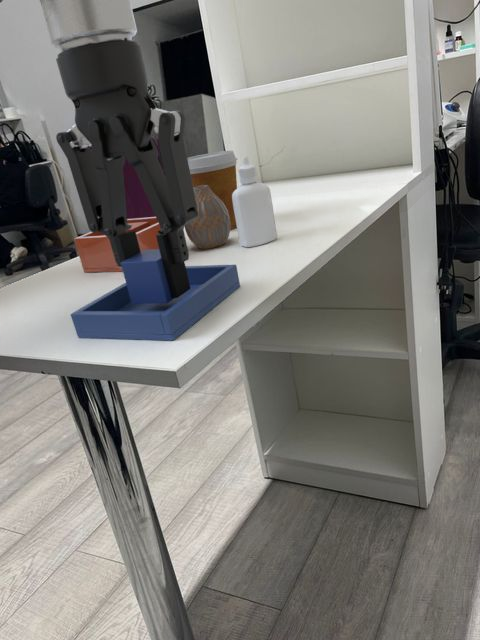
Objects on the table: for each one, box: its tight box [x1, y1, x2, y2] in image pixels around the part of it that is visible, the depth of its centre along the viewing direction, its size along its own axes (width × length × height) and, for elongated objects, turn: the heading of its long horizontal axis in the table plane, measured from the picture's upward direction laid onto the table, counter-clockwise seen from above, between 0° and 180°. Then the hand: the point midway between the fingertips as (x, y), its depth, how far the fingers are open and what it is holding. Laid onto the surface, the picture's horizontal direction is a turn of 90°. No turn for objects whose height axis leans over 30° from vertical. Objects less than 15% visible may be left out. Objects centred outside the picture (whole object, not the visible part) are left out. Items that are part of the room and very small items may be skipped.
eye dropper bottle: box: [232, 156, 278, 248], centre depth 77 cm, size 4×6×12 cm
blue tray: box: [69, 264, 241, 341], centre depth 58 cm, size 12×15×3 cm
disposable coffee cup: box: [187, 150, 238, 230], centre depth 91 cm, size 10×10×12 cm
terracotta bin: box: [73, 216, 161, 273], centre depth 81 cm, size 11×11×5 cm
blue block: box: [121, 249, 174, 304], centre depth 57 cm, size 4×4×4 cm
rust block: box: [126, 222, 150, 233], centre depth 81 cm, size 4×4×4 cm
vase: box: [184, 185, 231, 250], centre depth 81 cm, size 7×7×9 cm
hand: (160, 293), depth 57 cm, fingers closed on blue block, 4 cm apart
